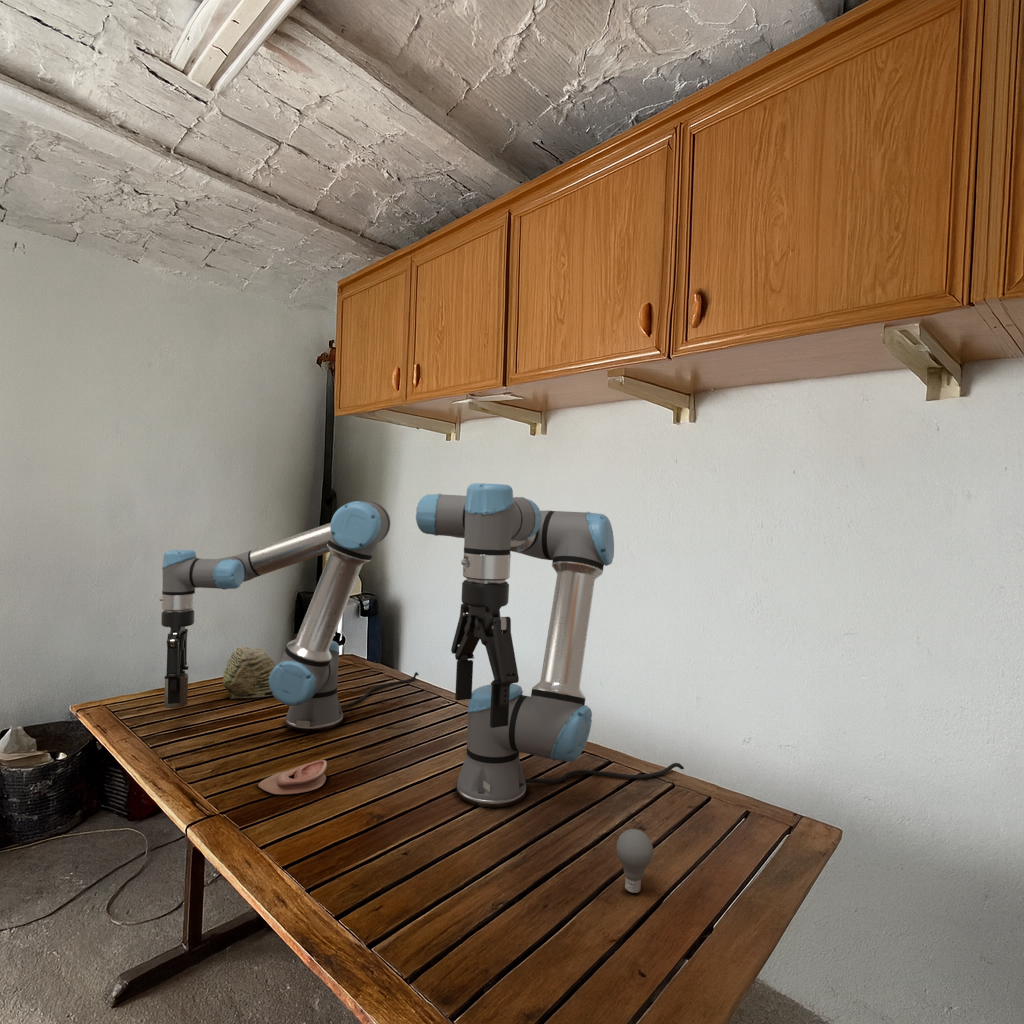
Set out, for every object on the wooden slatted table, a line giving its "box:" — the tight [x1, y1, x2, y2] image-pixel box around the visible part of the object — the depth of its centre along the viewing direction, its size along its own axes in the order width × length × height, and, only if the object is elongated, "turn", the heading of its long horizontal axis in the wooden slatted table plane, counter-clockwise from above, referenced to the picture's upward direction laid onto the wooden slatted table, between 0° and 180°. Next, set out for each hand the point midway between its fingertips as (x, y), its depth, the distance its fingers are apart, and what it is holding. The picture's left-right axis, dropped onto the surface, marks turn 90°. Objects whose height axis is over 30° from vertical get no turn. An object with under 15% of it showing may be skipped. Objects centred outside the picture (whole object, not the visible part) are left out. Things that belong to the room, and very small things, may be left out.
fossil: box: [222, 646, 277, 699], centre depth 198 cm, size 9×18×15 cm, turn 132°
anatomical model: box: [257, 759, 328, 795], centre depth 139 cm, size 13×4×12 cm
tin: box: [163, 672, 189, 709], centre depth 164 cm, size 5×5×8 cm
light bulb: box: [615, 828, 654, 894], centre depth 106 cm, size 6×6×10 cm
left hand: (176, 699), depth 164 cm, fingers closed on tin, 5 cm apart
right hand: (480, 712), depth 102 cm, fingers open, 13 cm apart
